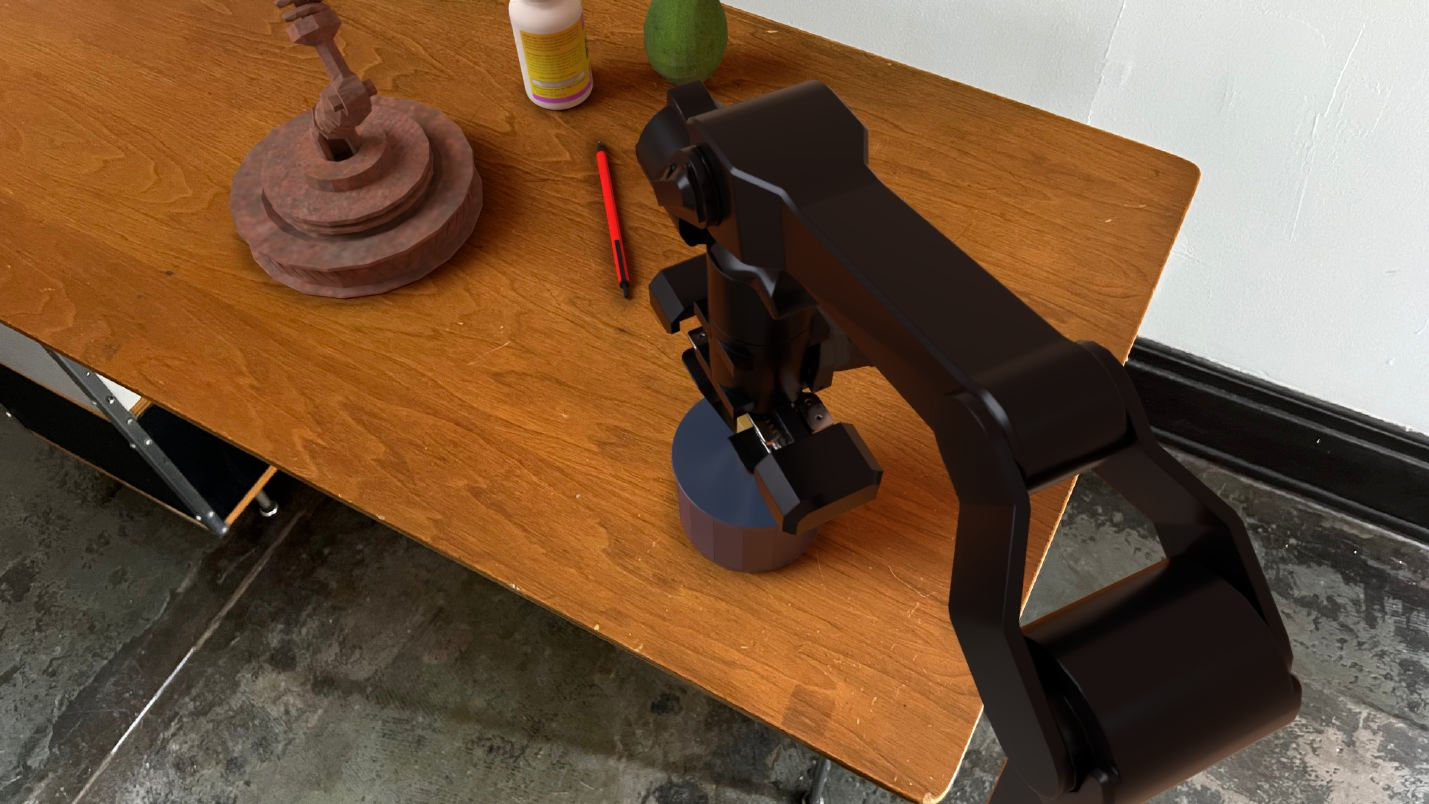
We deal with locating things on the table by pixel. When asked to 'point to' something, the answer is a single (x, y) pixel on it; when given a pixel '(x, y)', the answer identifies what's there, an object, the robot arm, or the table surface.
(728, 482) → the canister lid
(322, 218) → the desk lamp
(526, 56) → the supplement bottle
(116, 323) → the table surface
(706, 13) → the fruit
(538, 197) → the table surface
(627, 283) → the pen
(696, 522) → the canister
